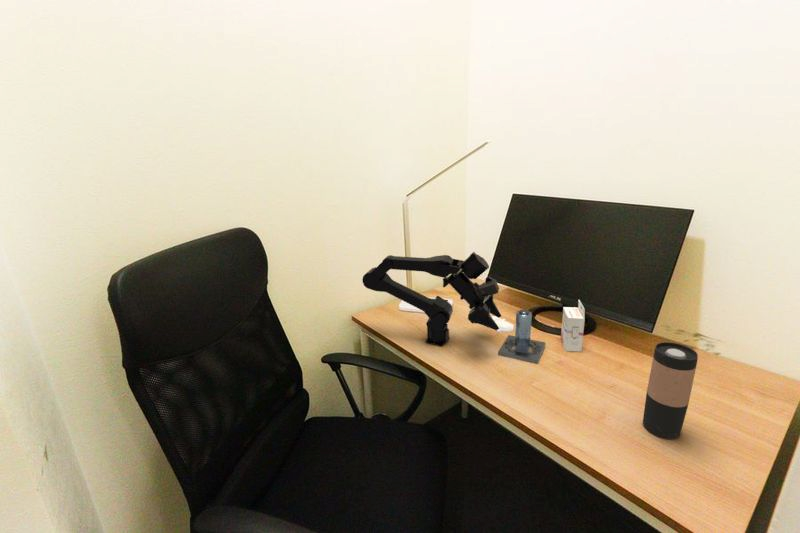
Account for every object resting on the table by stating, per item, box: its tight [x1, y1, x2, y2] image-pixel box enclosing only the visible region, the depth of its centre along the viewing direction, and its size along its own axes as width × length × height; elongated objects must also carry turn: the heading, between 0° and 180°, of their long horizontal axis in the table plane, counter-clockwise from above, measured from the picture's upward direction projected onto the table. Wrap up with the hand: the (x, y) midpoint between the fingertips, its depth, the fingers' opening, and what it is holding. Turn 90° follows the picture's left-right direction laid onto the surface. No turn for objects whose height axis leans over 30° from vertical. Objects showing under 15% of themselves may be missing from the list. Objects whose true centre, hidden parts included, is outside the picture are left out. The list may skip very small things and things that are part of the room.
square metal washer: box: [497, 334, 546, 365], centre depth 121 cm, size 12×12×1 cm
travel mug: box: [642, 341, 699, 440], centre depth 83 cm, size 8×8×20 cm
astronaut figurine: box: [491, 315, 515, 334], centre depth 138 cm, size 9×12×3 cm
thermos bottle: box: [513, 309, 533, 353], centre depth 119 cm, size 5×5×14 cm
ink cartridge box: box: [560, 299, 586, 353], centre depth 121 cm, size 9×5×15 cm, turn 168°
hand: (499, 322), depth 121 cm, fingers open, 9 cm apart
